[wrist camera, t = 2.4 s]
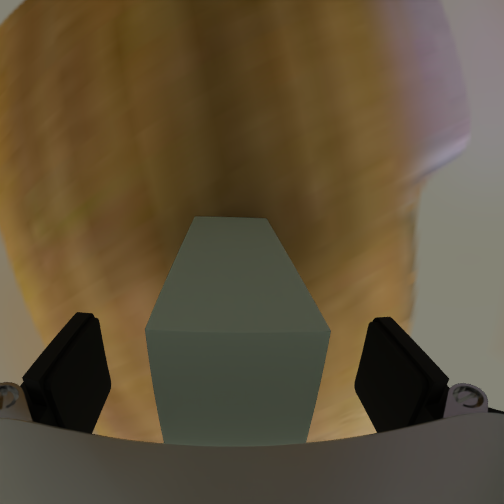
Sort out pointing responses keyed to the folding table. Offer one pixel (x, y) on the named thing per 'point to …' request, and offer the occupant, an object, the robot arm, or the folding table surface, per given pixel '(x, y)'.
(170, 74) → the folding table surface
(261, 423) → the peg
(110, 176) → the folding table surface
